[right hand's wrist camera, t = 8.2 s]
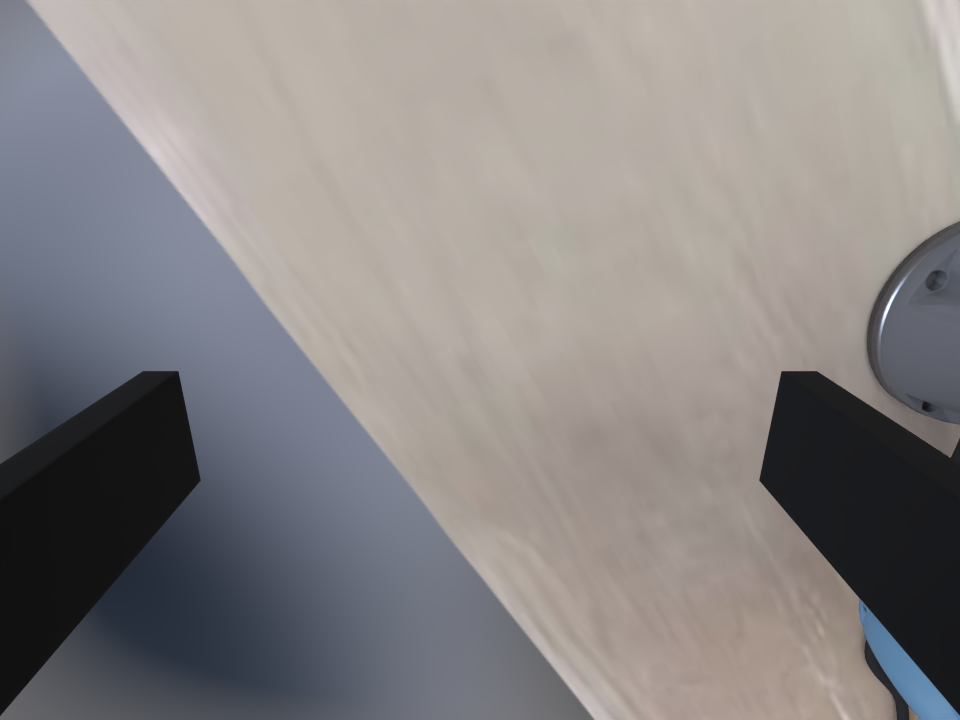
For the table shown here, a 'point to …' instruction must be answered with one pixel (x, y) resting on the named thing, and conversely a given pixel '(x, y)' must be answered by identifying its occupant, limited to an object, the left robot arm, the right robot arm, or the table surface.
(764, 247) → the table surface
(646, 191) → the table surface
